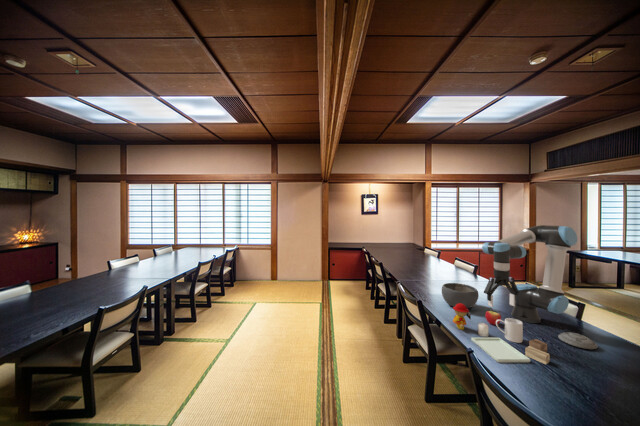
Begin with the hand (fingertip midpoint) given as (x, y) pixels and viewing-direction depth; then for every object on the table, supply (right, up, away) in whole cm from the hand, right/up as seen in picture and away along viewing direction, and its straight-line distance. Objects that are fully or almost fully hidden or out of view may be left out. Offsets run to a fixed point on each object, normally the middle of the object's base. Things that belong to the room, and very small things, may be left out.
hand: (501, 305), depth 140 cm
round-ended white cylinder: (-9, -18, +2) cm, 20 cm away
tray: (-12, -18, -14) cm, 26 cm away
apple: (+7, -18, +16) cm, 25 cm away
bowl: (+2, -18, +45) cm, 49 cm away
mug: (+3, -18, -2) cm, 19 cm away
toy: (-17, -18, +11) cm, 27 cm away
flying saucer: (+37, -19, -7) cm, 42 cm away
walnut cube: (+8, -18, -15) cm, 25 cm away
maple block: (+2, -18, -21) cm, 28 cm away
